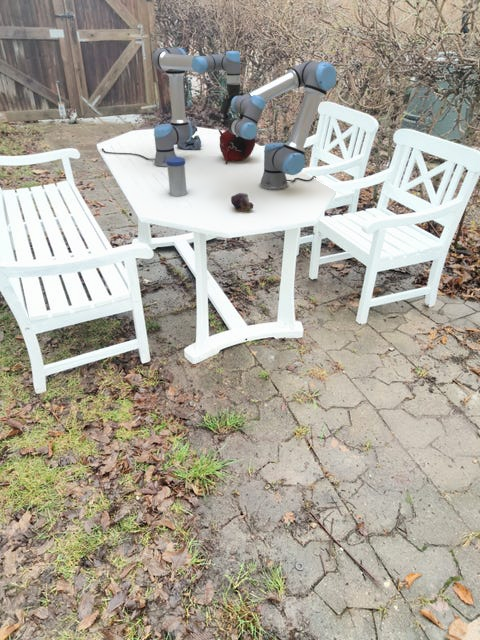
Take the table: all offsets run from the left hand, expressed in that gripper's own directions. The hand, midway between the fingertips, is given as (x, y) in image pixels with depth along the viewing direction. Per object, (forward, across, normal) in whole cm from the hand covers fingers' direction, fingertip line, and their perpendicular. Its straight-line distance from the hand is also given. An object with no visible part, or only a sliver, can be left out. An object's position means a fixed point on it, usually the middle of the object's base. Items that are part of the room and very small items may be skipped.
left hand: (234, 125), depth 259 cm
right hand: (-6, -20, -9) cm, 22 cm away
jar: (+28, -47, -1) cm, 55 cm away
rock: (+28, -42, -44) cm, 67 cm away
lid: (+10, -47, -1) cm, 48 cm away
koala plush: (+28, +25, +69) cm, 79 cm away
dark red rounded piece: (+28, +25, +21) cm, 43 cm away
